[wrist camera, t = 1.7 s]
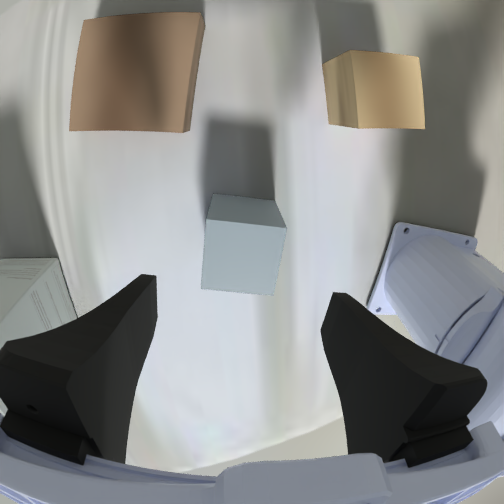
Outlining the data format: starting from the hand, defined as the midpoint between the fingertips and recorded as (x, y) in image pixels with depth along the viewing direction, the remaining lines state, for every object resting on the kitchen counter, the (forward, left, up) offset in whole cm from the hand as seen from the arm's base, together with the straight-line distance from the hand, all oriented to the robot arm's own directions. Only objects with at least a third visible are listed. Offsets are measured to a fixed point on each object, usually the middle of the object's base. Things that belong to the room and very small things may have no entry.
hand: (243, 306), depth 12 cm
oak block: (-6, -10, -9) cm, 15 cm away
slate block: (0, 0, -9) cm, 9 cm away
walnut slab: (+7, -9, -9) cm, 15 cm away
